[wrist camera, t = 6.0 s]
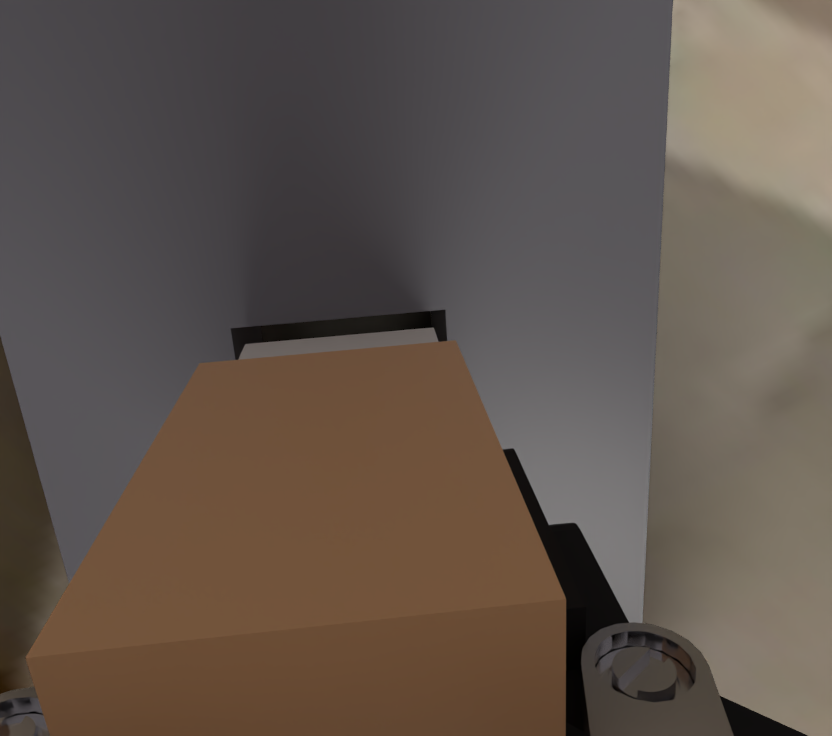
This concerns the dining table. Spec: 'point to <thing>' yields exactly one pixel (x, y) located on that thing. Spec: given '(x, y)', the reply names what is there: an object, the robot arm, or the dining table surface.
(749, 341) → the dining table surface
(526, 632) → the plug
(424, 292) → the grey flat block
